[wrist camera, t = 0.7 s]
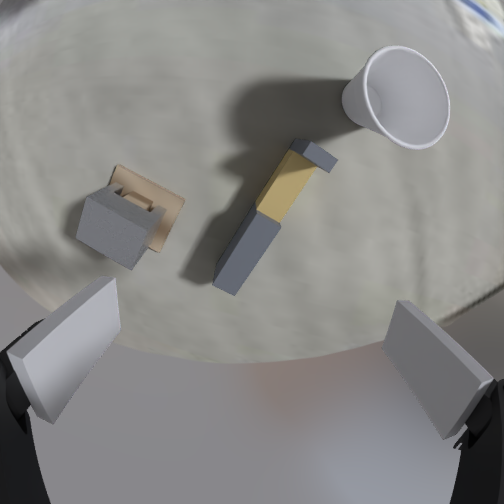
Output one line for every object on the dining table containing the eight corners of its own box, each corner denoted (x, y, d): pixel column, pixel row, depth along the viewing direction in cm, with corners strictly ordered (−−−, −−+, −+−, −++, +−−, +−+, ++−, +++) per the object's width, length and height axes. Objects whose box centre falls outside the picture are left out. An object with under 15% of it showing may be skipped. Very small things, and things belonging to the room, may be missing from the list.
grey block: (116, 182, 29) (86, 196, 22) (167, 209, 31) (147, 230, 24) (103, 216, 31) (75, 237, 24) (151, 243, 32) (131, 270, 26)
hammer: (295, 138, 29) (311, 141, 22) (316, 152, 30) (337, 159, 23) (216, 265, 36) (209, 299, 29) (235, 275, 37) (233, 311, 29)
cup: (317, 67, 25) (350, 41, 15) (389, 67, 25) (439, 52, 15) (333, 144, 30) (372, 153, 20) (401, 139, 29) (455, 148, 19)
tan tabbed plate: (119, 164, 30) (100, 170, 25) (185, 199, 32) (175, 211, 28) (99, 217, 33) (81, 230, 28) (160, 250, 35) (149, 268, 30)
